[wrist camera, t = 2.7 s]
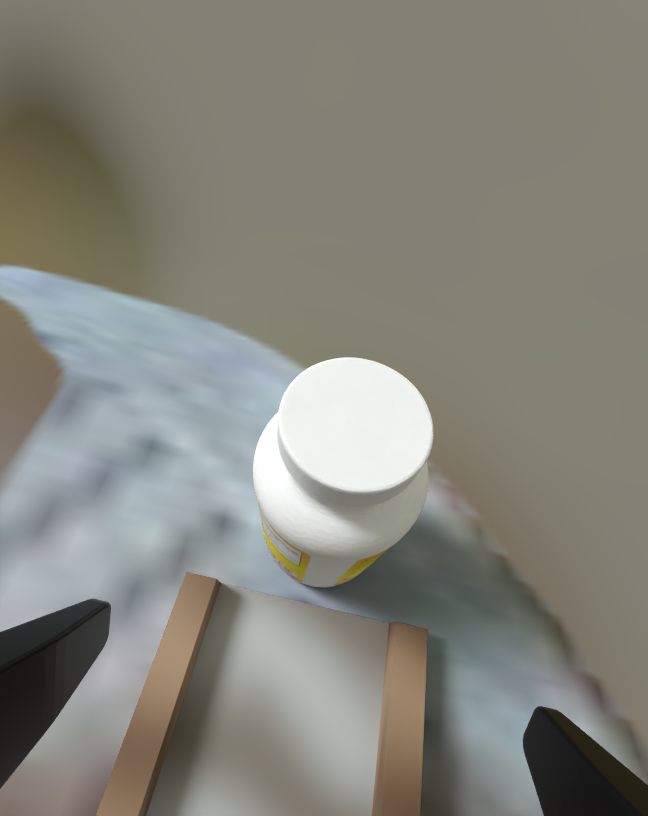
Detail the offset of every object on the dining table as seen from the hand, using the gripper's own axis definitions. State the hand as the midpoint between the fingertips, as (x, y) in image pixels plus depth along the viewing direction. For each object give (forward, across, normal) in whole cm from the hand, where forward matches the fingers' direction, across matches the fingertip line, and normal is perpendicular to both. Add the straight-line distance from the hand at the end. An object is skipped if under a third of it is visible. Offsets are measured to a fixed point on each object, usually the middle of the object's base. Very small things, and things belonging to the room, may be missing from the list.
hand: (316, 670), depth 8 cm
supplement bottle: (+14, 0, -5) cm, 14 cm away
